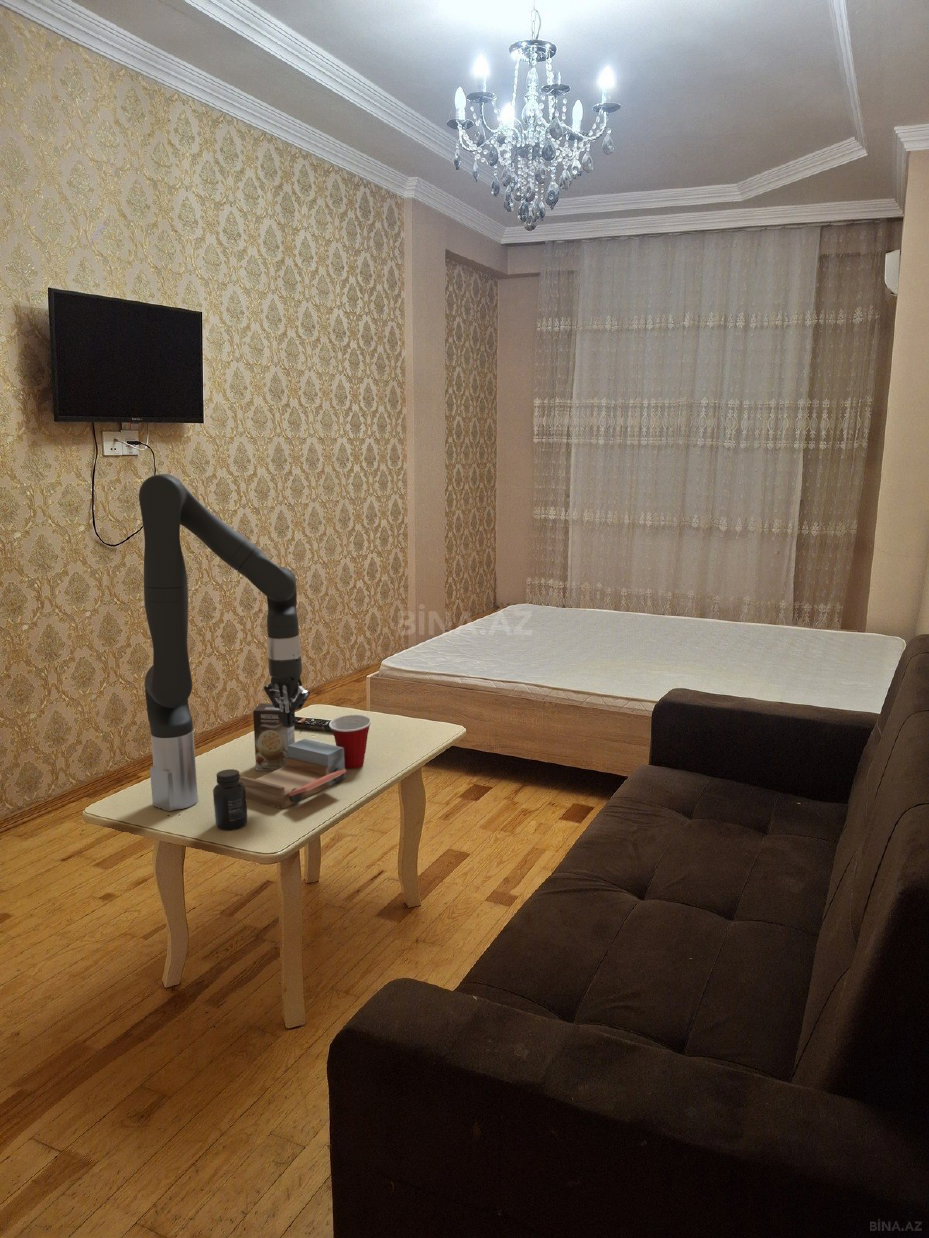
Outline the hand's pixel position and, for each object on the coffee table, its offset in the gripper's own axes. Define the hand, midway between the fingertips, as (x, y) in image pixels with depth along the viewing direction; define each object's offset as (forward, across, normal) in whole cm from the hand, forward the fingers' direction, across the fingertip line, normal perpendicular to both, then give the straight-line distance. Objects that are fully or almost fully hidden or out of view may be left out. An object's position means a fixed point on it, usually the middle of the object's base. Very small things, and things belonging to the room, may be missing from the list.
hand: (289, 726), depth 210 cm
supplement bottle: (+17, +1, -20) cm, 26 cm away
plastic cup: (+17, 0, +22) cm, 28 cm away
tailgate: (+14, +6, 0) cm, 15 cm away
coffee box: (+17, -16, +11) cm, 26 cm away
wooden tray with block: (+17, -1, +3) cm, 17 cm away
